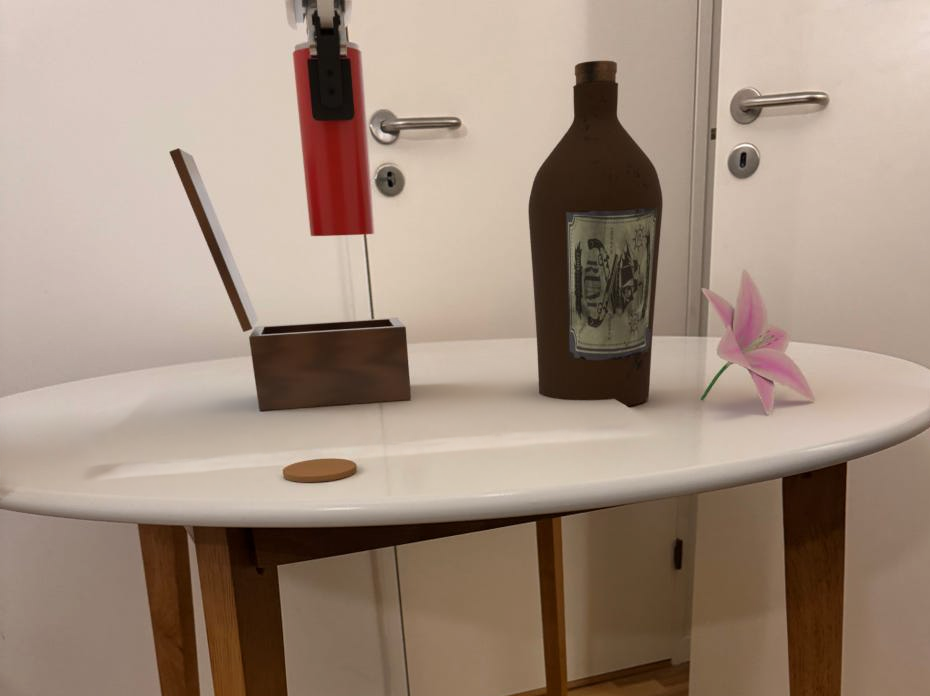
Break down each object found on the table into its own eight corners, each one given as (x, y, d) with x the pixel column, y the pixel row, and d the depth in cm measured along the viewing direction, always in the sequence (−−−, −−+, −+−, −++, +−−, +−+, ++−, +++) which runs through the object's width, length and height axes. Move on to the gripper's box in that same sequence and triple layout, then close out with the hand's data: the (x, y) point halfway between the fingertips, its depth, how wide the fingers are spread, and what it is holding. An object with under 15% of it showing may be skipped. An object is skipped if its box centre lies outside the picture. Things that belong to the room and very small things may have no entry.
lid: (192, 155, 77) (183, 158, 77) (178, 147, 70) (168, 151, 70) (258, 319, 83) (249, 322, 83) (252, 329, 75) (243, 332, 75)
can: (310, 236, 75) (291, 39, 69) (310, 236, 79) (292, 52, 74) (376, 234, 75) (362, 39, 70) (372, 233, 80) (359, 51, 75)
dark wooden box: (403, 394, 88) (397, 317, 85) (412, 410, 80) (405, 326, 77) (265, 404, 86) (254, 326, 83) (260, 422, 78) (248, 336, 76)
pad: (282, 485, 59) (281, 479, 59) (284, 467, 63) (283, 461, 63) (358, 478, 60) (357, 472, 59) (355, 461, 64) (354, 455, 64)
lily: (687, 436, 71) (758, 321, 65) (627, 356, 78) (686, 248, 73) (799, 463, 77) (874, 360, 71) (734, 386, 84) (797, 288, 78)
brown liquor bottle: (518, 395, 84) (509, 75, 74) (628, 385, 86) (635, 72, 76) (553, 416, 75) (549, 52, 65) (676, 405, 77) (691, 50, 67)
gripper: (262, -124, 74) (288, 135, 81) (247, -218, 58) (281, 113, 66) (356, -123, 75) (374, 133, 82) (367, -214, 59) (387, 111, 67)
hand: (332, 121), depth 74 cm, fingers closed on can, 5 cm apart
